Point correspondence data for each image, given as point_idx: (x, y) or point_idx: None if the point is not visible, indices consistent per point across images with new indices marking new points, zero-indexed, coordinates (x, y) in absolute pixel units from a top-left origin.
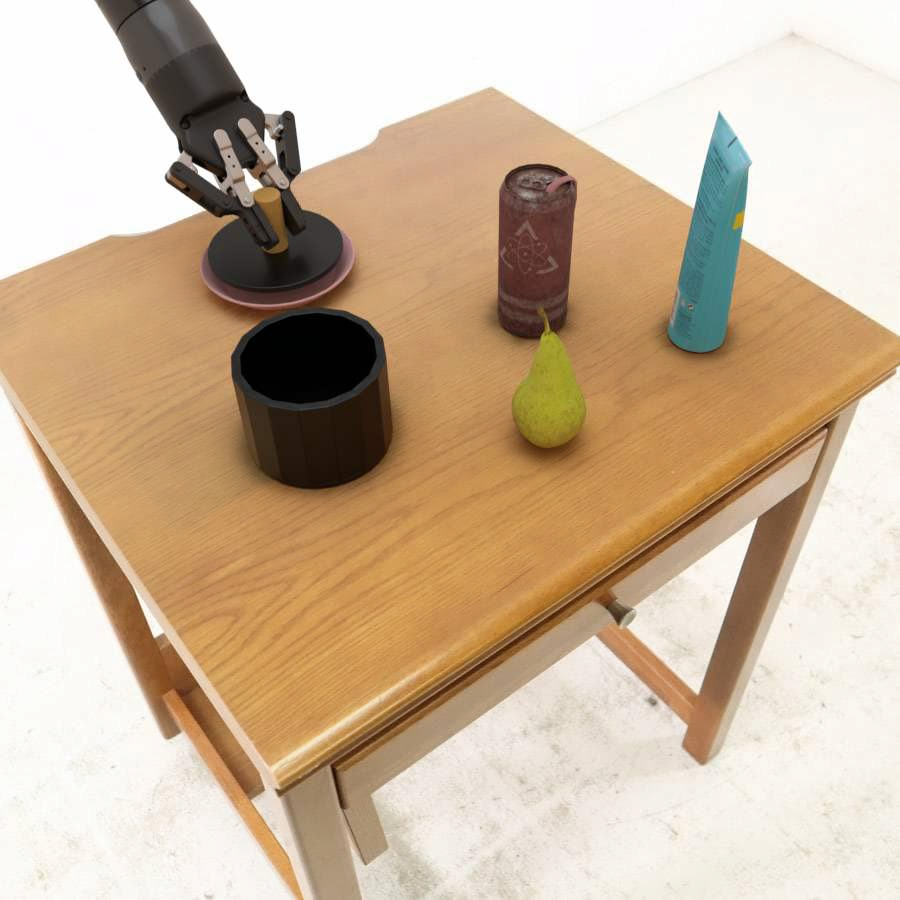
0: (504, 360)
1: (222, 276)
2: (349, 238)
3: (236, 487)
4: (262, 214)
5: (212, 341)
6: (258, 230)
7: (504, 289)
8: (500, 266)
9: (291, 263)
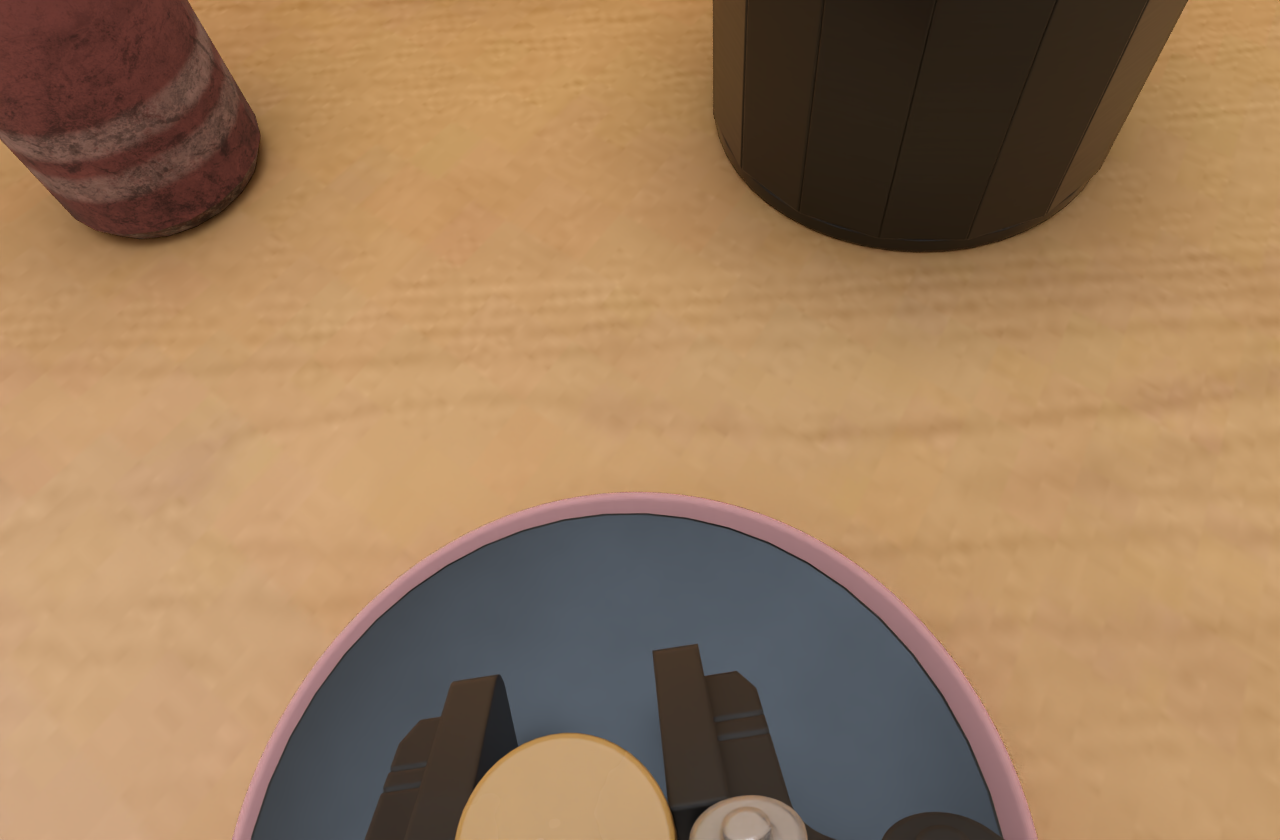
0: (356, 97)
1: (987, 792)
2: (259, 767)
3: (1175, 72)
4: (678, 748)
5: (1084, 625)
6: (746, 718)
7: (187, 44)
8: (131, 2)
9: (628, 664)
